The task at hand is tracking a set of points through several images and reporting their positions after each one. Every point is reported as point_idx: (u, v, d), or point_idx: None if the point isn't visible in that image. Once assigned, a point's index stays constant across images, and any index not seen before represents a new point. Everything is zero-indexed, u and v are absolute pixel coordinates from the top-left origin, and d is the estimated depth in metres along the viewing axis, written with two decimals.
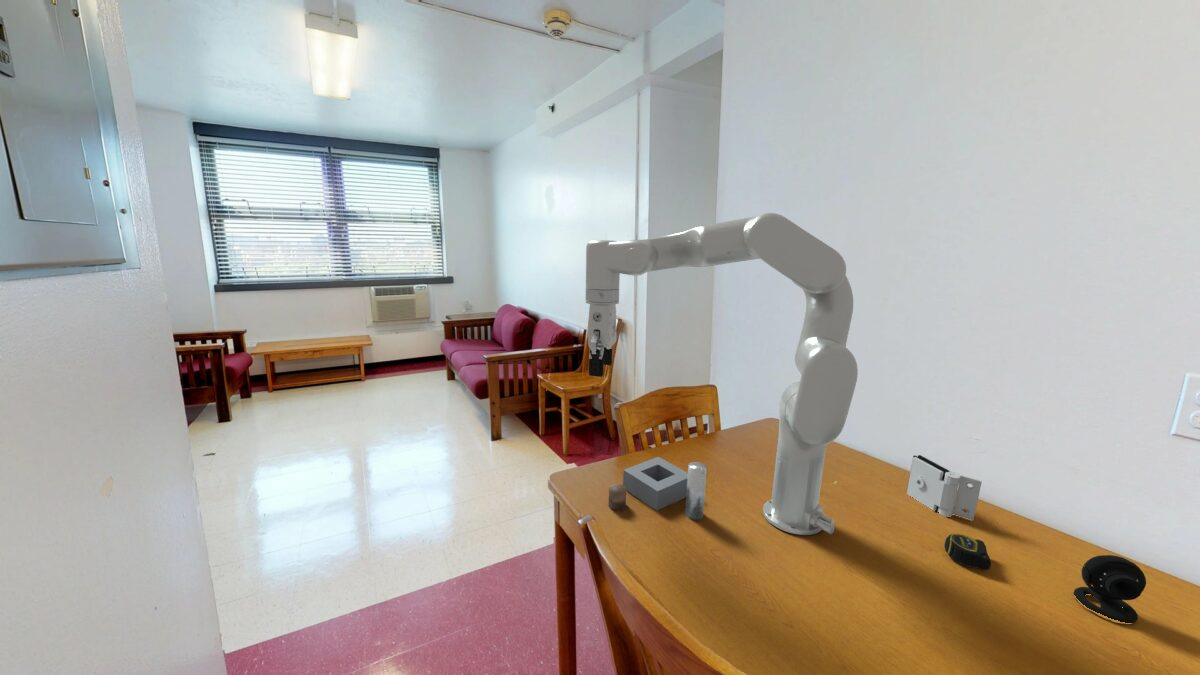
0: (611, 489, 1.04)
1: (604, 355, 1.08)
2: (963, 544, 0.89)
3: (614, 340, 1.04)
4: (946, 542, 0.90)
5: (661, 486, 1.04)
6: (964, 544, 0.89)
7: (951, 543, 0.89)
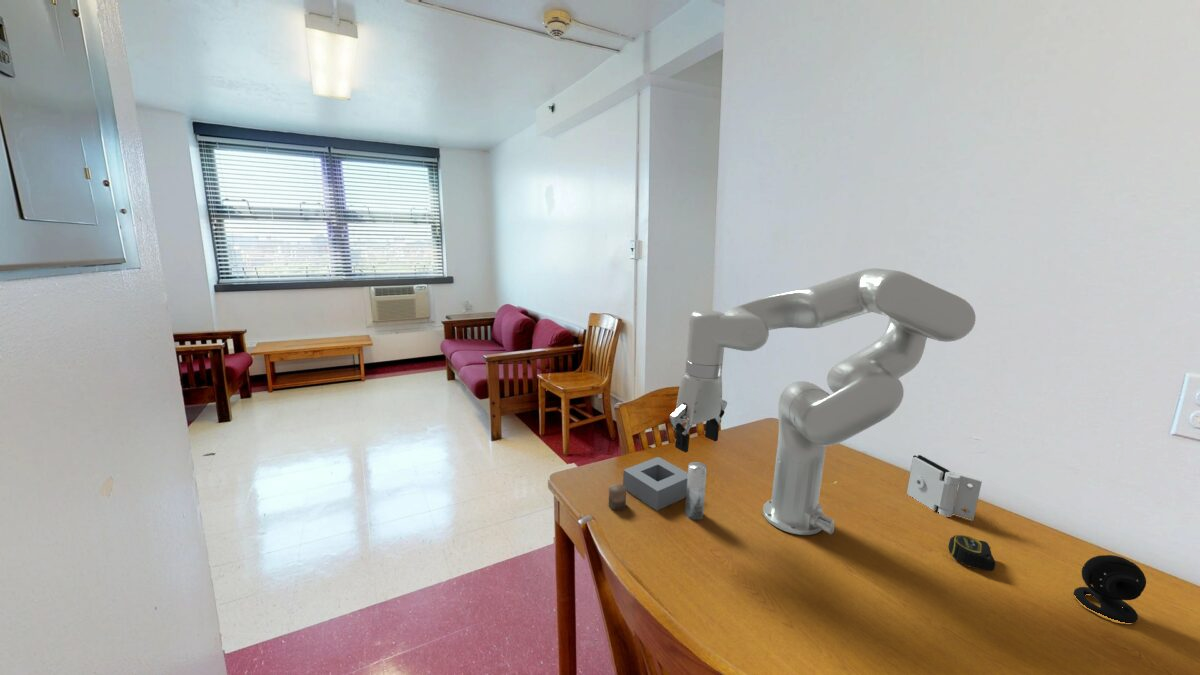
0: (611, 489, 1.04)
1: None
2: (967, 545, 0.88)
3: None
4: (950, 543, 0.90)
5: (661, 486, 1.04)
6: (969, 546, 0.88)
7: (955, 544, 0.89)
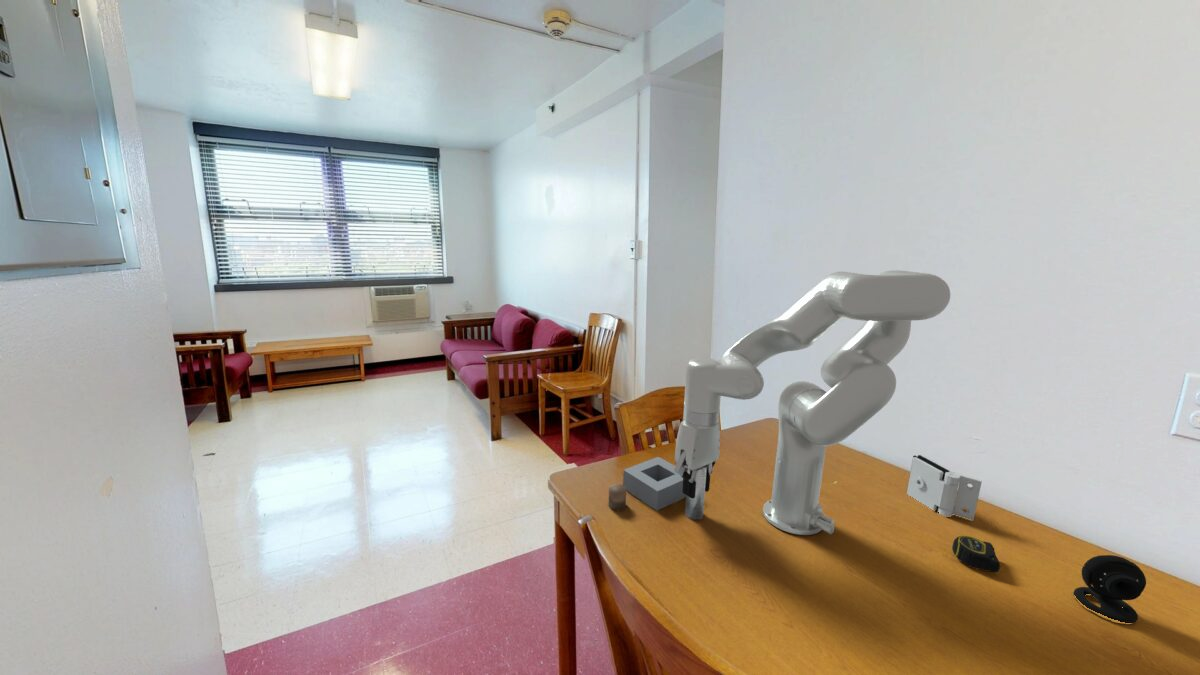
0: (611, 489, 1.04)
1: None
2: (971, 546, 0.88)
3: None
4: (954, 544, 0.90)
5: (661, 486, 1.04)
6: (973, 547, 0.88)
7: (959, 545, 0.89)
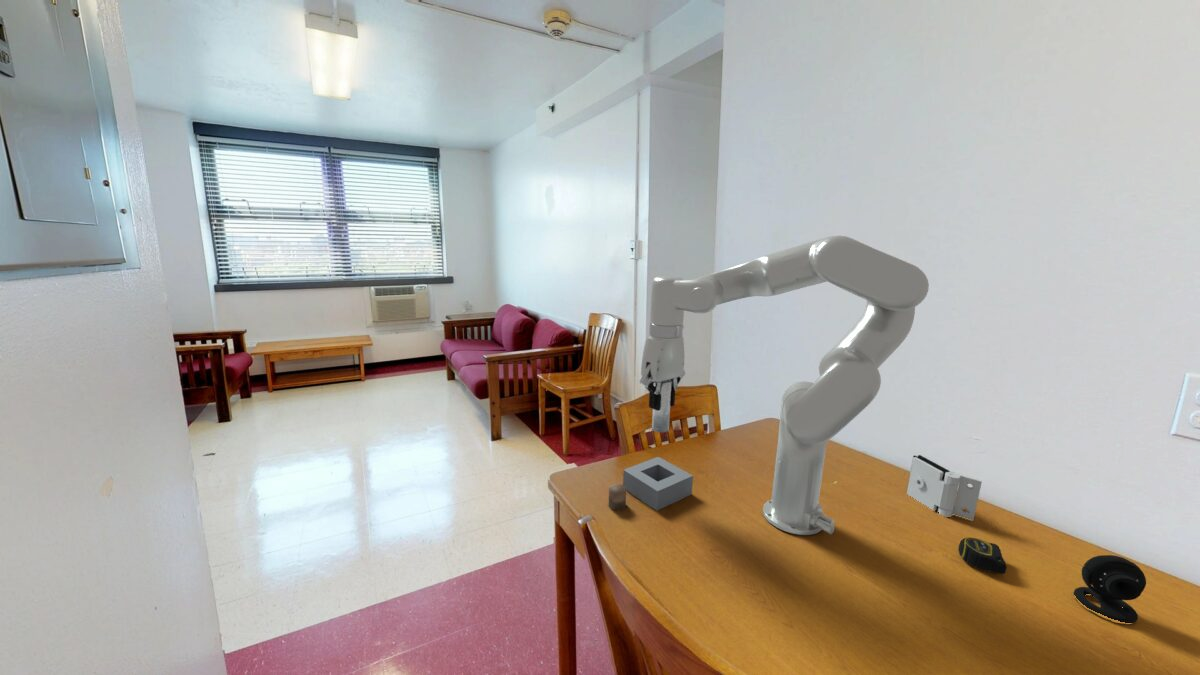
0: (611, 489, 1.04)
1: None
2: (977, 548, 0.88)
3: None
4: (960, 546, 0.89)
5: (661, 486, 1.04)
6: (979, 548, 0.88)
7: (965, 547, 0.88)
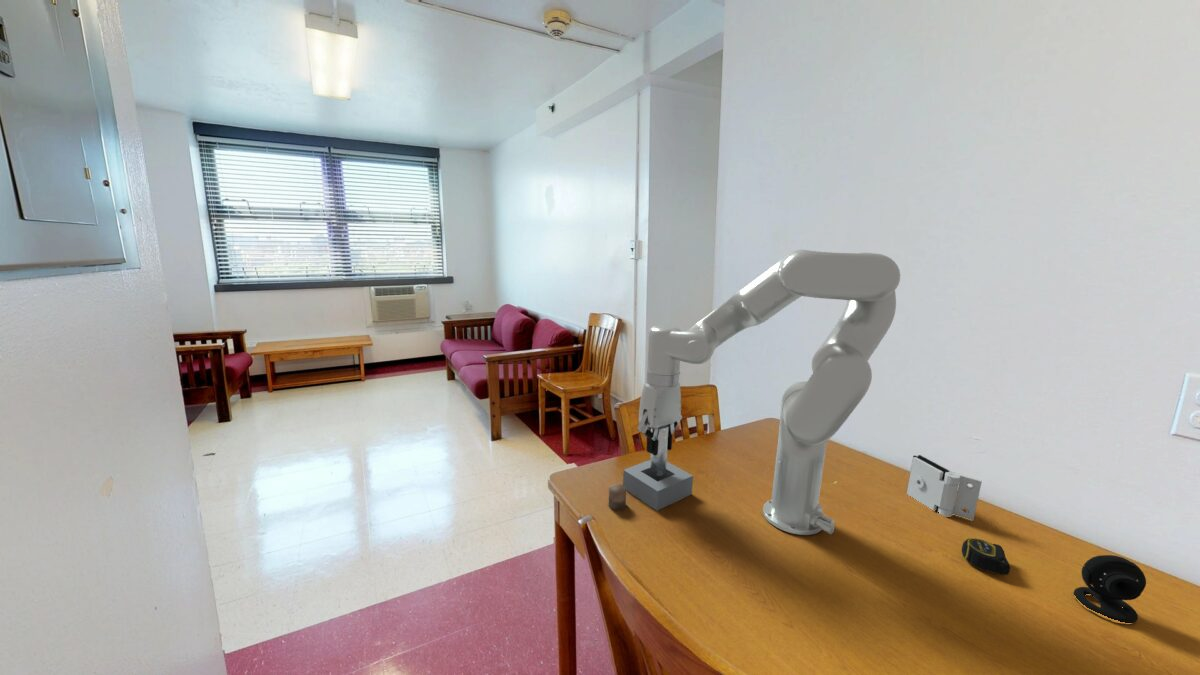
0: (611, 489, 1.04)
1: None
2: (981, 549, 0.87)
3: None
4: (963, 547, 0.89)
5: (661, 486, 1.04)
6: (982, 549, 0.87)
7: (968, 548, 0.88)
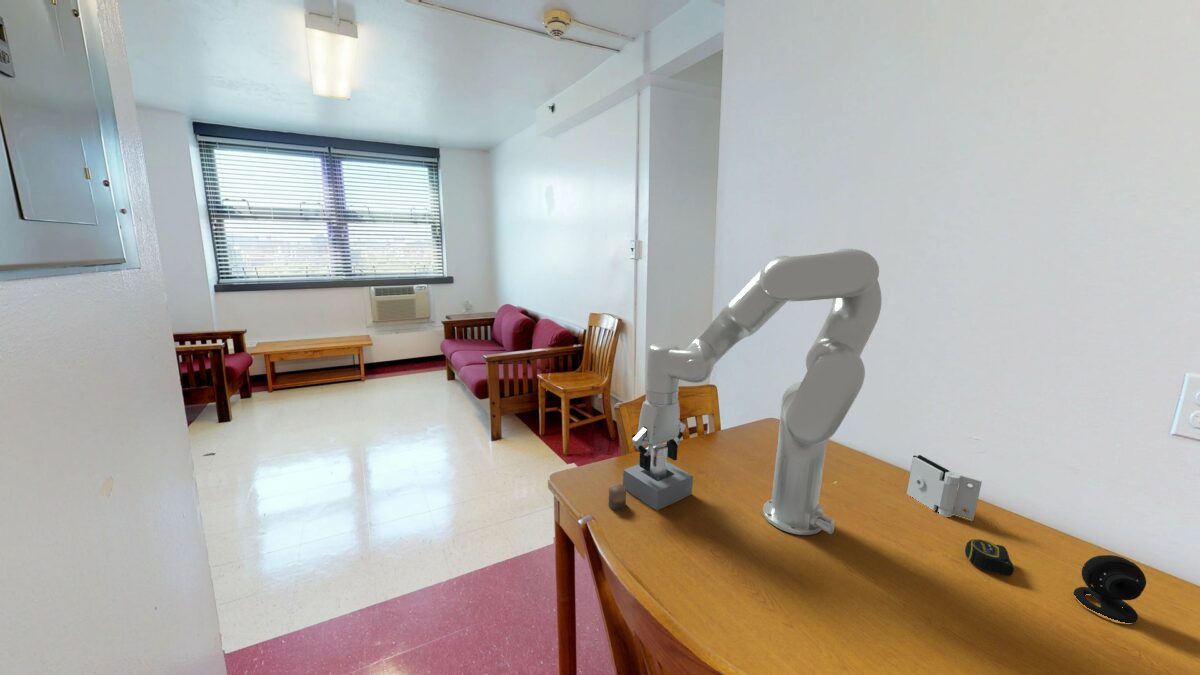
0: (611, 489, 1.04)
1: None
2: (984, 550, 0.87)
3: None
4: (967, 547, 0.89)
5: (661, 486, 1.04)
6: (986, 550, 0.87)
7: (972, 549, 0.88)
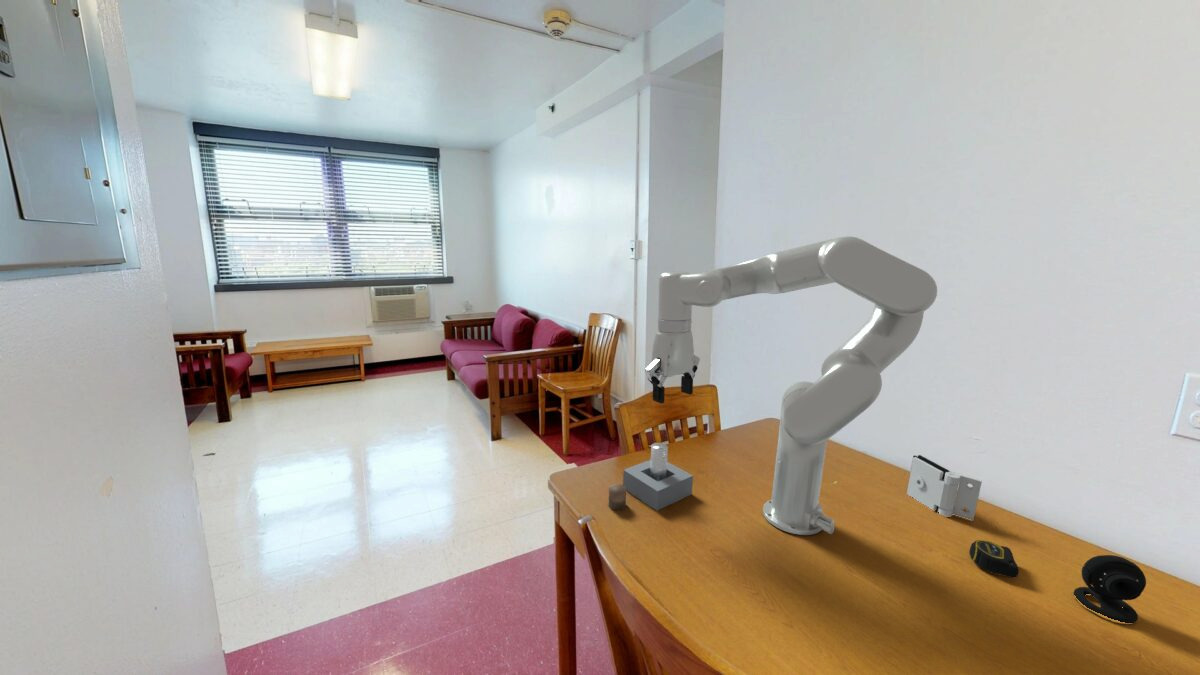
0: (611, 489, 1.04)
1: None
2: (989, 551, 0.87)
3: None
4: (971, 549, 0.89)
5: (661, 486, 1.04)
6: (991, 551, 0.87)
7: (976, 550, 0.87)
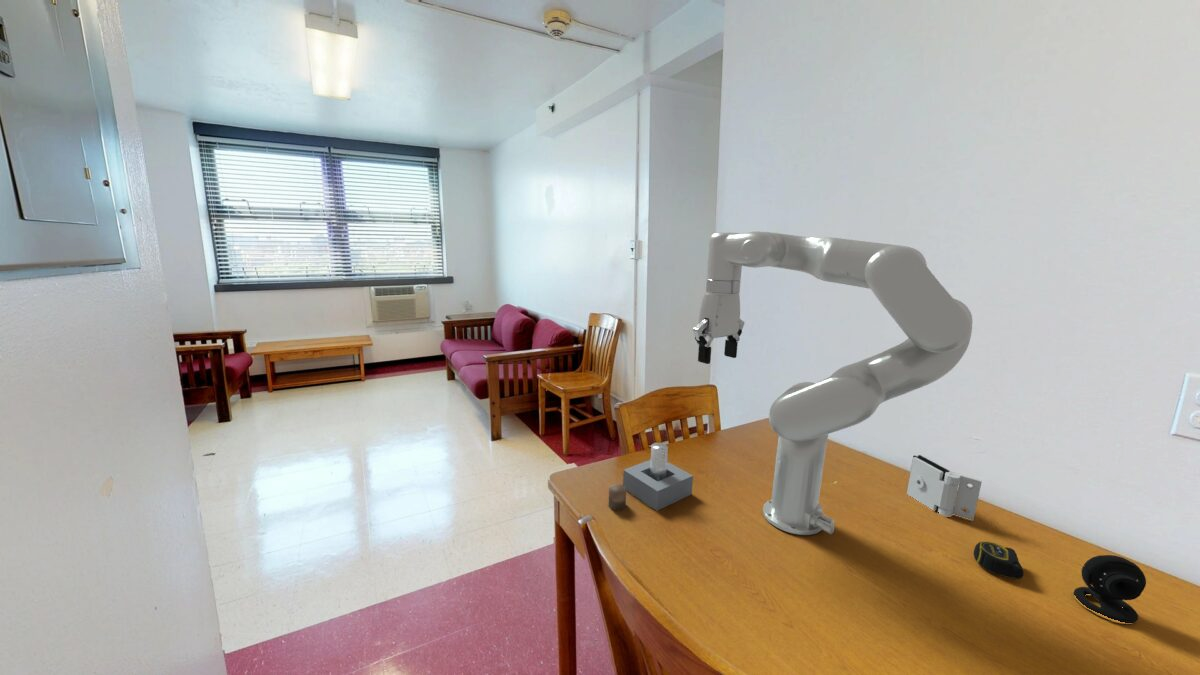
0: (611, 489, 1.04)
1: None
2: (993, 552, 0.86)
3: None
4: (975, 550, 0.88)
5: (661, 486, 1.04)
6: (995, 553, 0.86)
7: (981, 551, 0.87)
